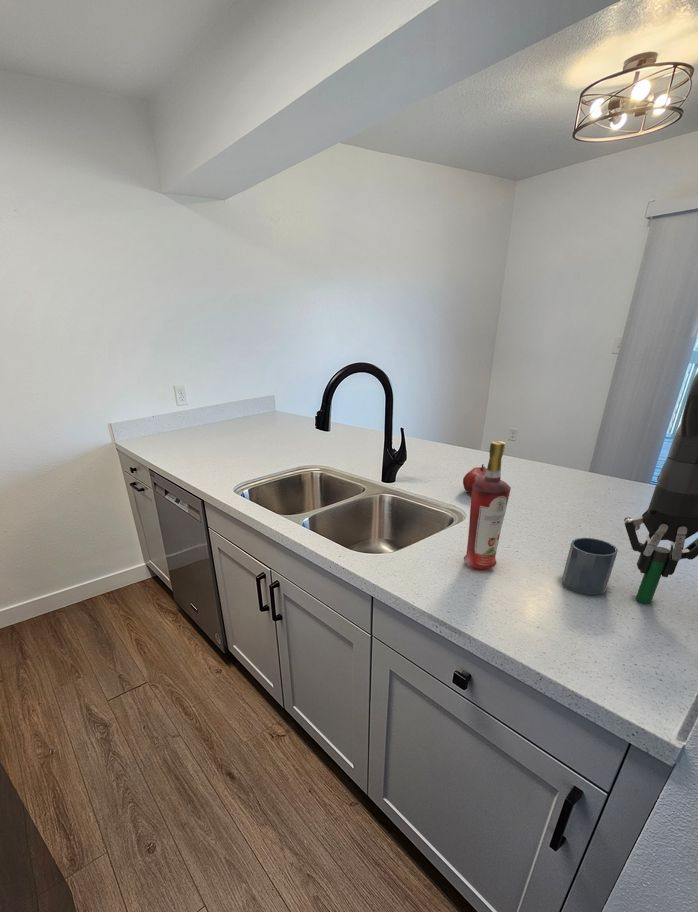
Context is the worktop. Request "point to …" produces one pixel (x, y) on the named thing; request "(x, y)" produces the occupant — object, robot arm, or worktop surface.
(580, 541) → the grey cylindrical cup
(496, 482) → the liquor
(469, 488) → the fruit
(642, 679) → the worktop surface
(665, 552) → the green marker
